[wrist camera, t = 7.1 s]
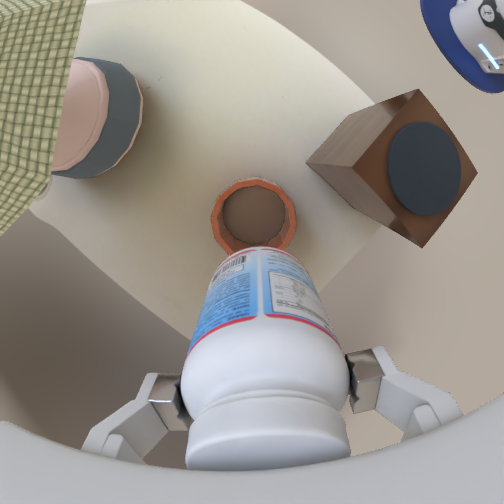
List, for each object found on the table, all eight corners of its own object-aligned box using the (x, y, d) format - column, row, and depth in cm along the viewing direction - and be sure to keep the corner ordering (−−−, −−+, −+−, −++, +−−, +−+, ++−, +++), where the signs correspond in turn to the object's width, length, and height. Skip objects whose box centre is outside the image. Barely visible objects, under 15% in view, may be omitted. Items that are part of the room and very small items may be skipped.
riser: (393, 162, 37) (478, 172, 19) (353, 208, 40) (422, 248, 21) (348, 115, 35) (418, 88, 17) (305, 162, 38) (351, 167, 19)
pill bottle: (221, 338, 18) (194, 501, 7) (201, 250, 16) (118, 411, 5) (314, 327, 17) (358, 488, 7) (309, 236, 15) (397, 389, 5)
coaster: (469, 171, 19) (473, 172, 18) (423, 233, 21) (427, 235, 20) (420, 103, 17) (424, 102, 17) (367, 167, 19) (370, 167, 19)
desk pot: (285, 172, 38) (289, 174, 33) (294, 243, 42) (300, 255, 36) (211, 184, 39) (204, 187, 34) (224, 253, 42) (220, 267, 37)
